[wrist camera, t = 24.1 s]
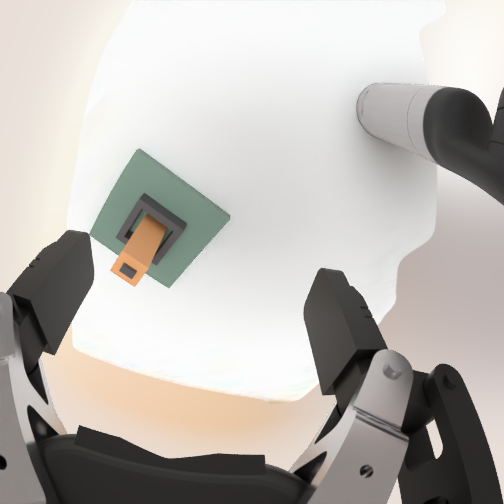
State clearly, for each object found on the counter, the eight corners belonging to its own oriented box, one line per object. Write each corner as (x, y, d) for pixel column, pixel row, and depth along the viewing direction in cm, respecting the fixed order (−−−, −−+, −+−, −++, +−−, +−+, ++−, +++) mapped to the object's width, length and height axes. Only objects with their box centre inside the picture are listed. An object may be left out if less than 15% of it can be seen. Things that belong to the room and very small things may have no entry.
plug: (168, 224, 43) (147, 271, 32) (156, 241, 44) (133, 289, 33) (148, 210, 41) (120, 253, 30) (136, 228, 43) (108, 273, 32)
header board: (229, 215, 44) (229, 226, 41) (170, 283, 51) (166, 297, 47) (139, 148, 37) (130, 154, 34) (92, 230, 44) (82, 241, 40)
